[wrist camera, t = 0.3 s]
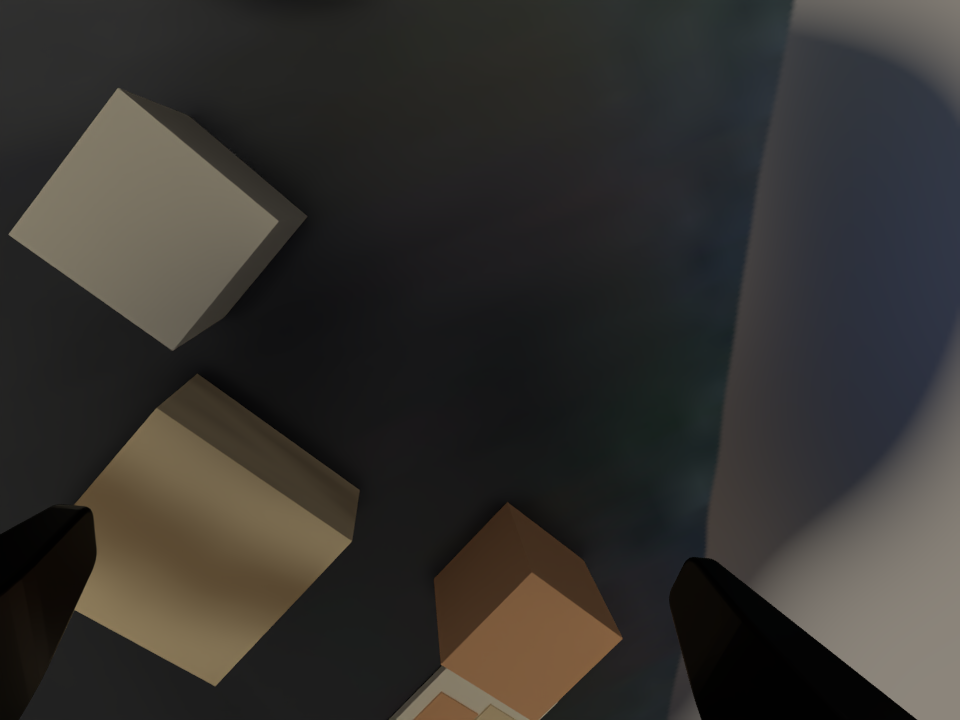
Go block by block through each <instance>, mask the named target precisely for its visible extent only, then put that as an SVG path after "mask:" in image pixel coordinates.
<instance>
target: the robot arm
mask: <svg viewBox="0 0 960 720" xmlns="http://www.w3.org/2000/svg"><path fill="white" fill-rule="evenodd" d="M96 557H97V545H96V535H95V525H94V516H93V512H92V510H91V509H90V508H88V507H86V506H76V505H64V504H59V505H54V506H52V507H49V508H47V509H46V510H44V511H42V512H40V513H38V514H36V515H35V516H33V517H31V518H29V519H27V520H26V521H24V522H22V523H20V524H18V525H16V526H15V527H13V528H11V529H9V530H7V531H6V532H4V533H2V534H0V720H19V719H20V717H21V715H22V714H23V712H24V710H25V709H26V707H27V705H28V703H29V702H30V700H31V698H32V696H33V695H34V693H35V691H36V689H37V687H38V686H39V684H40V682H41V680H42V678H43V676H44V674H45V672H46V670H47V668H48V666H49V664H50V662H51V659H52V657H53V655H54V653H55V651H56V649H57V646H58V644H59V642H60V640H61V638H62V636H63V633H64V631H65V629H66V627H67V625H68V623H69V620H70V618H71V616H72V614H73V612H74V610H75V607H76V605H77V603H78V601H79V599H80V596H81V594H82V592H83V590H84V588H85V586H86V583H87V581H88V579H89V577H90V575H91V573H92V570H93V568H94V565H95V562H96ZM669 602H670V609H671V613H672V616H673V620H674V624H675V628H676V632H677V636H678V639H679V643H680V647H681V651H682V655H683V658H684V662H685V666H686V670H687V674H688V678H689V681H690V685H691V688H692V692H693V695H694V699H695V702H696V705H697V708H698V711H699V714H700V717H701V720H917V719H915V718H914V717H913V716H912V715H910V714H909V713H908V712H907V711H905V710H904V709H903V708H901V707H900V706H899V705H898V704H896V703H895V702H894V701H893V700H891V699H890V698H889V697H888V696H886V695H885V694H884V693H883V692H881V691H880V690H879V689H878V688H876V687H875V686H874V685H872V684H871V683H870V682H868V681H867V680H866V679H865V678H864V677H862V676H861V675H860V674H858V673H857V672H856V671H855V670H853V669H852V668H851V667H849V666H848V665H847V664H846V663H845V662H843V661H842V660H841V659H840V658H838V657H837V656H836V655H834V654H833V653H832V652H831V651H829V650H828V649H827V648H826V647H824V646H823V645H822V644H821V643H819V642H818V641H817V640H815V639H814V638H813V637H811V636H810V635H809V634H808V633H807V632H805V631H804V630H803V629H802V628H800V627H799V626H797V625H796V624H795V623H794V622H793V621H791V620H790V619H789V618H788V617H786V616H785V615H784V614H782V613H781V612H780V611H779V610H777V609H776V608H775V607H773V606H772V605H771V604H770V603H769V602H767V601H766V600H765V599H764V598H762V597H761V596H760V595H759V594H757V593H756V592H755V591H753V590H752V589H751V588H750V587H748V586H747V585H746V584H745V583H743V582H742V581H741V580H739V579H738V578H737V577H735V576H734V575H733V574H732V573H731V572H729V571H728V570H727V569H726V568H724V567H723V566H722V565H721V564H719V563H718V562H717V561H715V560H713V559H709V558H698V557H691V558H689V559H688V560H686V561H685V563H684V565H683V567H682V569H681V571H680V573H679V575H678V577H677V579H676V581H675V583H674V585H673V587H672V589H671V591H670V597H669Z"/></svg>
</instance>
